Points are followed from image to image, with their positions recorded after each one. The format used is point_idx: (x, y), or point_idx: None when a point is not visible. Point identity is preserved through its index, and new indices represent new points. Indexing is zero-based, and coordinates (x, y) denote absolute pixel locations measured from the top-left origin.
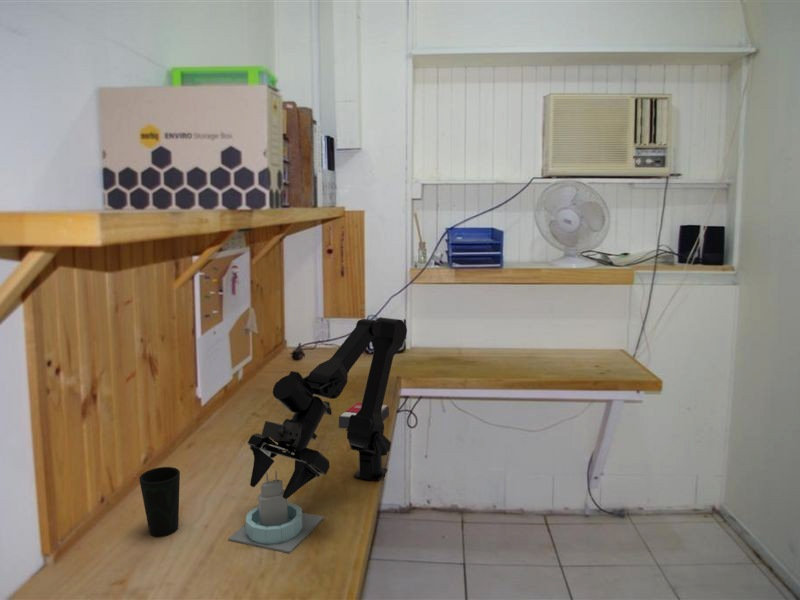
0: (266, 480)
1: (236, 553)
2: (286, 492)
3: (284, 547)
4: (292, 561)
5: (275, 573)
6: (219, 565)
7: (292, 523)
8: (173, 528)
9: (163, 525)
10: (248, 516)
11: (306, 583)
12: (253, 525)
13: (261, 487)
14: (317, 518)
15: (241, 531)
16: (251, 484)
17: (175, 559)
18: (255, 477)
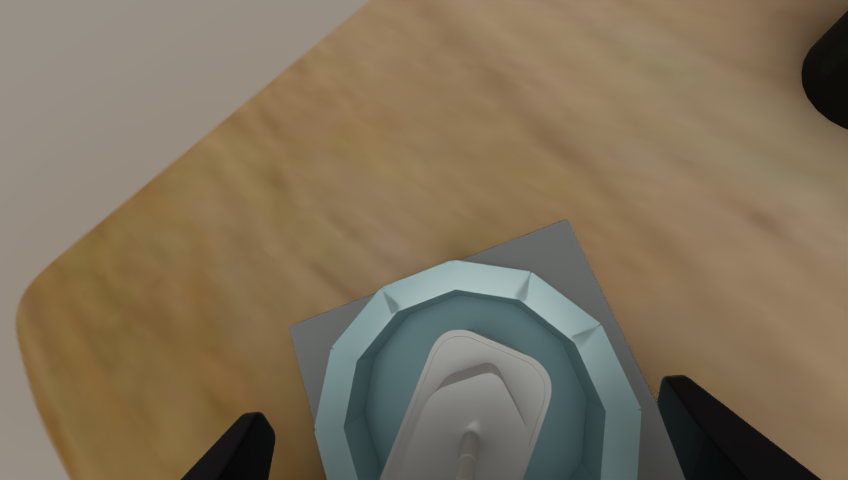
0: (469, 443)
1: (454, 193)
2: (211, 447)
3: (326, 332)
4: (250, 299)
5: (248, 215)
6: (434, 114)
7: (321, 421)
8: (822, 82)
9: (845, 17)
10: (567, 313)
11: (134, 248)
12: (460, 272)
13: (486, 370)
14: None
15: (577, 290)
16: (667, 379)
17: (590, 29)
18: (713, 460)
